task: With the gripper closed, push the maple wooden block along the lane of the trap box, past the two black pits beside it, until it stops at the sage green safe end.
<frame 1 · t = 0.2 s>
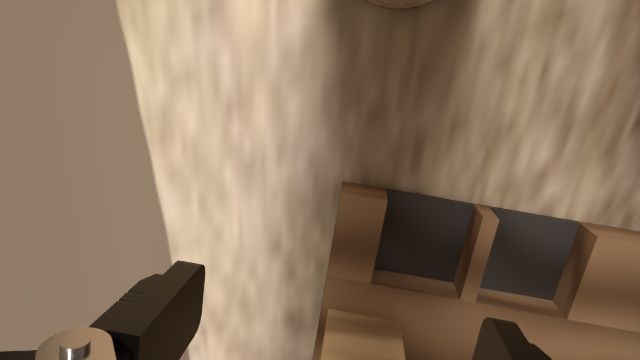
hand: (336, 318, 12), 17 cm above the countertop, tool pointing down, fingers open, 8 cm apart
maple block: (358, 345, 30), point 2 cm above the countertop, touching trap box
trap box: (473, 309, 31), on the countertop
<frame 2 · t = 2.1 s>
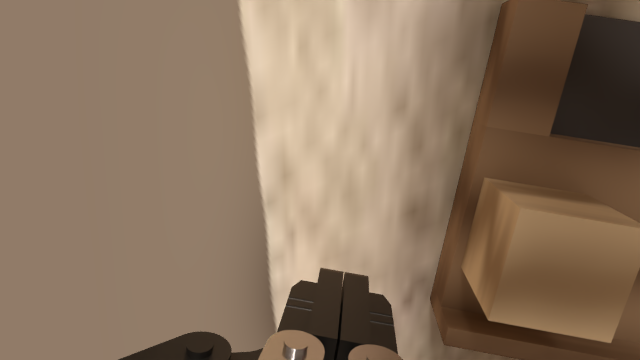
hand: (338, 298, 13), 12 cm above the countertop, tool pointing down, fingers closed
maple block: (521, 231, 21), point 2 cm above the countertop, touching trap box
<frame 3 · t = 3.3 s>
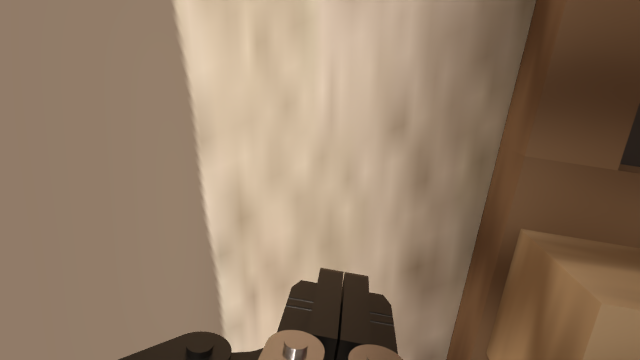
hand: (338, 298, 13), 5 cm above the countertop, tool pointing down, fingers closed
maple block: (573, 305, 15), point 2 cm above the countertop, touching trap box
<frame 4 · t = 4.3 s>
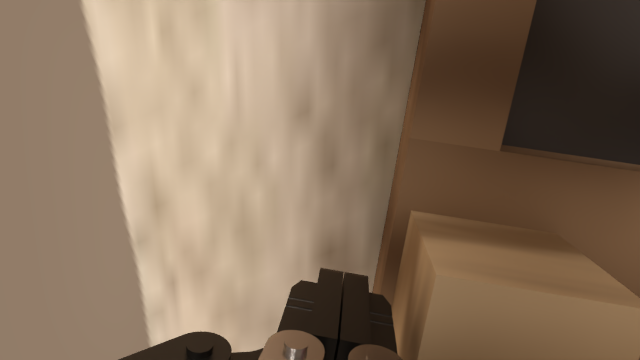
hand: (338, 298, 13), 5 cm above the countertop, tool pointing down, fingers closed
maple block: (467, 286, 15), point 3 cm above the countertop, touching gripper, trap box
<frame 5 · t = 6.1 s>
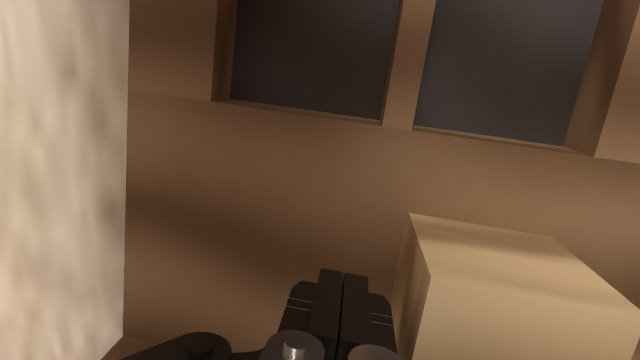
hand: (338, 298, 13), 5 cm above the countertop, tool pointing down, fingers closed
maple block: (463, 288, 15), point 3 cm above the countertop, touching gripper
trap box: (419, 175, 17), on the countertop
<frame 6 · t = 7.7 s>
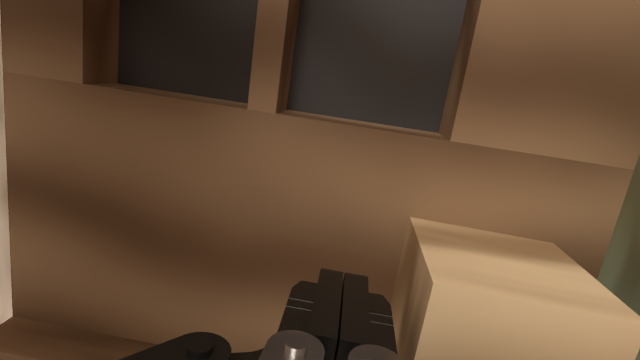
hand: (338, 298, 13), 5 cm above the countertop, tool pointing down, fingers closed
maple block: (463, 293, 15), point 2 cm above the countertop, touching gripper, trap box
trap box: (305, 161, 17), on the countertop
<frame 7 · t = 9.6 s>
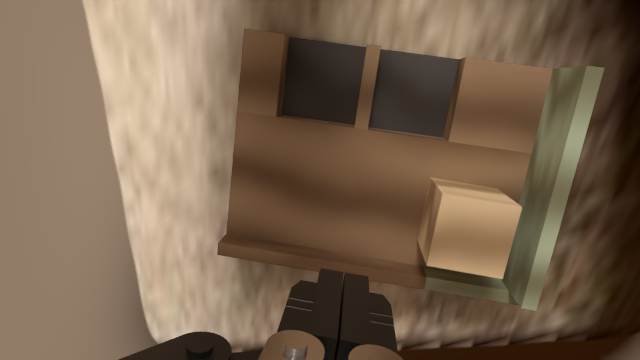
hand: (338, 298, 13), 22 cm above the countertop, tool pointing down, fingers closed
maple block: (456, 214, 32), point 2 cm above the countertop, touching trap box
trap box: (375, 152, 34), on the countertop
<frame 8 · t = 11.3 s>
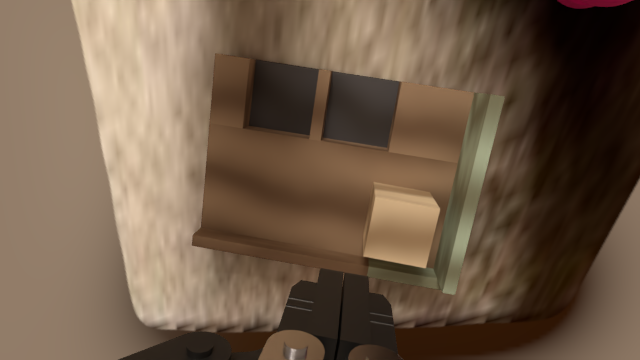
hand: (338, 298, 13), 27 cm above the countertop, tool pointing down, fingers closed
maple block: (395, 213, 37), point 2 cm above the countertop, touching trap box
trap box: (330, 159, 39), on the countertop
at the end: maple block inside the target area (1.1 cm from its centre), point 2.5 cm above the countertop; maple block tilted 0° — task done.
